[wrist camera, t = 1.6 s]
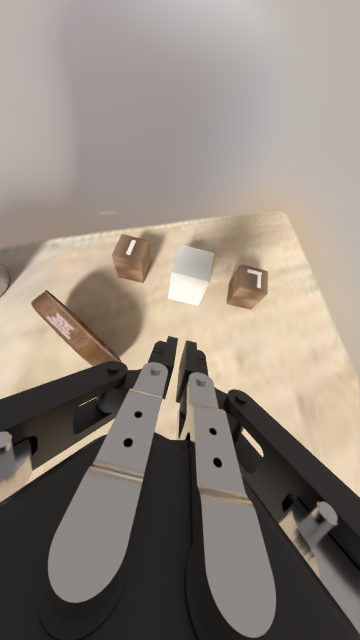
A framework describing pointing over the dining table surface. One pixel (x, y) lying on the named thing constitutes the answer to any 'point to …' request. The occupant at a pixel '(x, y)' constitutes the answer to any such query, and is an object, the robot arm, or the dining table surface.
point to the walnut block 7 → (247, 287)
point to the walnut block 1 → (132, 258)
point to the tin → (73, 330)
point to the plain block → (190, 274)
